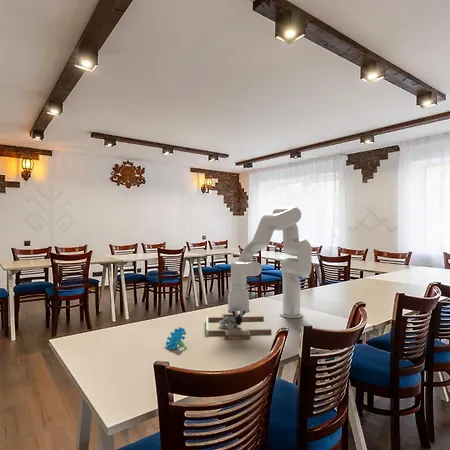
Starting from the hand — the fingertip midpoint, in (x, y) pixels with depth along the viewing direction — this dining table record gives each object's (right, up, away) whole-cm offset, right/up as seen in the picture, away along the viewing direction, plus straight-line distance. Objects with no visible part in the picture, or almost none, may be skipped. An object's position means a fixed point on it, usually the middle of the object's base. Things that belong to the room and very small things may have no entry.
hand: (238, 324), depth 165 cm
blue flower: (-27, -2, -26) cm, 37 cm away
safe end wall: (-15, -1, -1) cm, 15 cm away
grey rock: (-5, -2, +3) cm, 6 cm away
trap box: (-1, -1, 0) cm, 2 cm away
